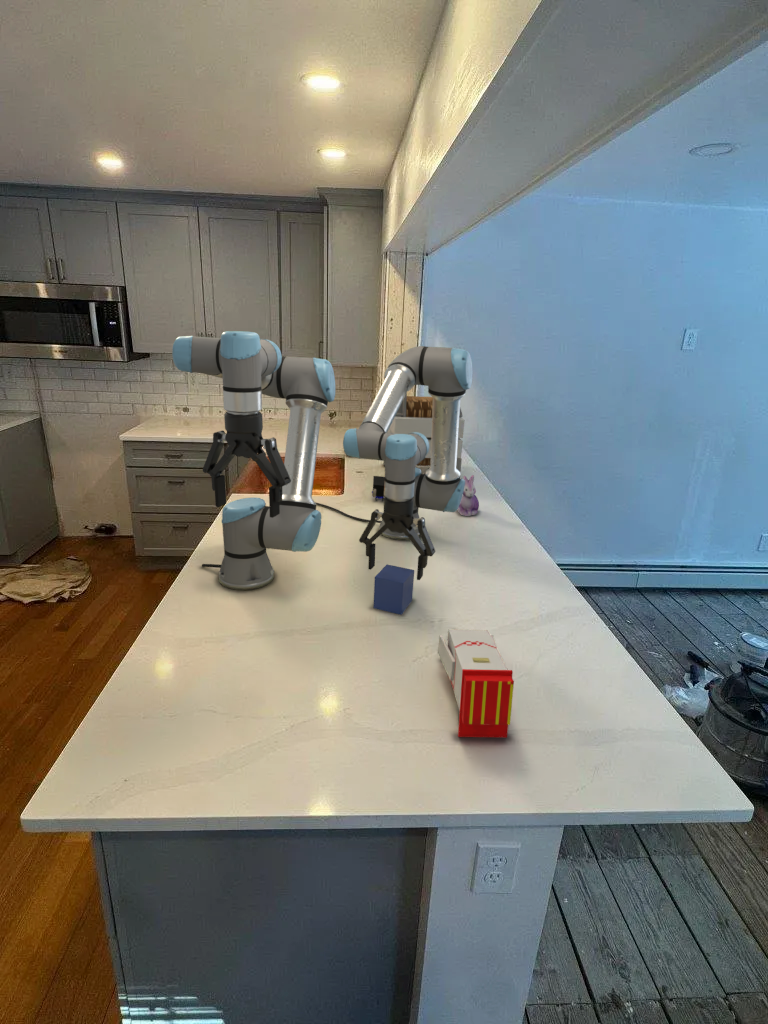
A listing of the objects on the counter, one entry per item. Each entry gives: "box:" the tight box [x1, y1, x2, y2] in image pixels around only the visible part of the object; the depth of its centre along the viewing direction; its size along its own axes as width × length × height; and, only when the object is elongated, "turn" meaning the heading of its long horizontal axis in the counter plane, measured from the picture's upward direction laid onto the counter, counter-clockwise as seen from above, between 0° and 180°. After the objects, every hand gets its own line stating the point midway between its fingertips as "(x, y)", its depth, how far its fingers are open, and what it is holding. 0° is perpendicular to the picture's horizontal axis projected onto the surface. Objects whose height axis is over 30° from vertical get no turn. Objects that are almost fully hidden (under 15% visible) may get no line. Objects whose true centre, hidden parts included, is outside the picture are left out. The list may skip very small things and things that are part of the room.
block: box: [372, 563, 415, 616], centre depth 151 cm, size 9×8×9 cm
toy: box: [437, 628, 515, 738], centre depth 117 cm, size 12×13×30 cm
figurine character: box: [371, 475, 385, 502], centre depth 236 cm, size 7×8×15 cm
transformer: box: [383, 392, 465, 475], centre depth 268 cm, size 34×33×41 cm
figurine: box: [457, 474, 480, 517], centre depth 221 cm, size 9×10×15 cm
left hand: (247, 510), depth 122 cm, fingers open, 13 cm apart
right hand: (395, 572), depth 150 cm, fingers open, 13 cm apart
